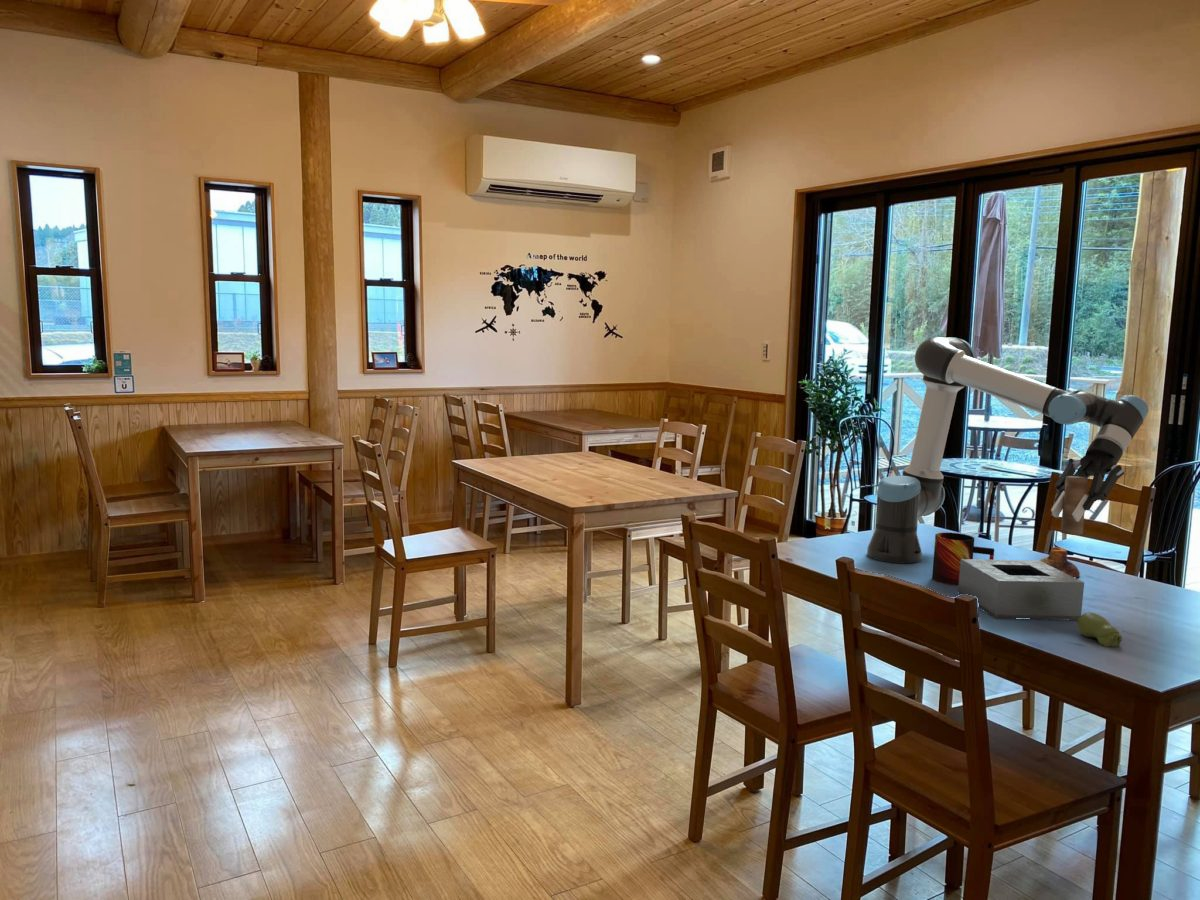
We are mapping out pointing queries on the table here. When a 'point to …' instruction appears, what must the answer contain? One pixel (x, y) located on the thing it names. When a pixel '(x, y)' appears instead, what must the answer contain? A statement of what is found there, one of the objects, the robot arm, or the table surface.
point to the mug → (953, 556)
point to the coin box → (1021, 589)
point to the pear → (1098, 629)
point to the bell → (1061, 562)
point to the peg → (1073, 504)
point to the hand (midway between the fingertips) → (1064, 515)
